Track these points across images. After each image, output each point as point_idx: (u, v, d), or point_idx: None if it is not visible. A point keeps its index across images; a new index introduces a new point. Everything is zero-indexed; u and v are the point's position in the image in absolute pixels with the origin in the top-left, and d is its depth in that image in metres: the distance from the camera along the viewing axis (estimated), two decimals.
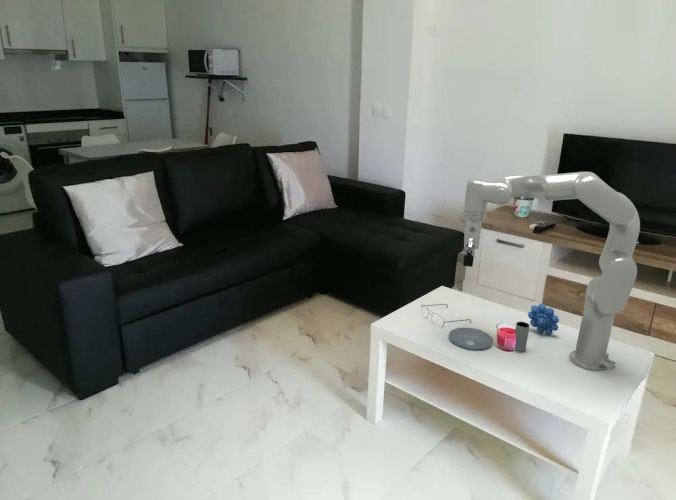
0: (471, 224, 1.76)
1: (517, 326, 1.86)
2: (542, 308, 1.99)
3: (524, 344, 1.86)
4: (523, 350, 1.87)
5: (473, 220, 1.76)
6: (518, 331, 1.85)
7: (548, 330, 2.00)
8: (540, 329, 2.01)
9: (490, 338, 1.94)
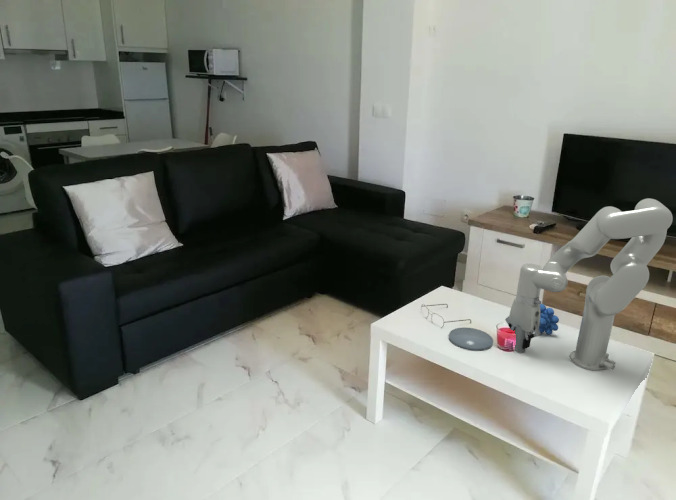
0: (536, 309, 1.80)
1: (517, 326, 1.86)
2: (542, 308, 1.99)
3: None
4: (523, 350, 1.87)
5: (535, 305, 1.80)
6: (518, 331, 1.85)
7: (548, 330, 2.00)
8: (540, 329, 2.01)
9: (490, 338, 1.94)
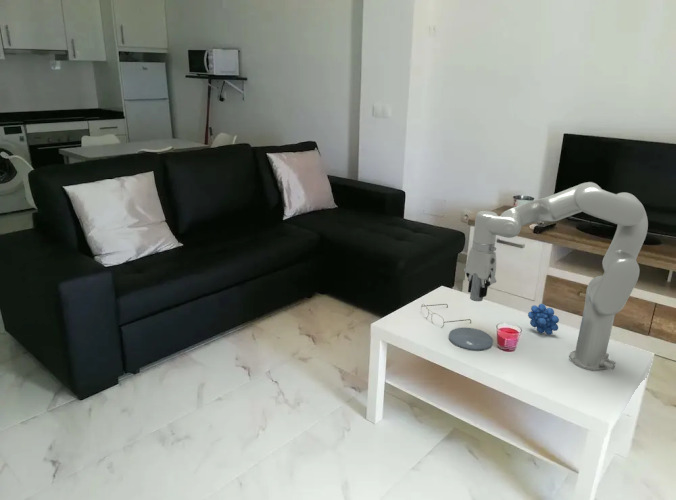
0: (491, 256, 1.80)
1: (474, 274, 1.86)
2: (542, 308, 1.99)
3: None
4: (480, 299, 1.88)
5: (491, 252, 1.81)
6: (475, 279, 1.86)
7: (548, 330, 2.00)
8: (540, 329, 2.01)
9: (490, 338, 1.94)
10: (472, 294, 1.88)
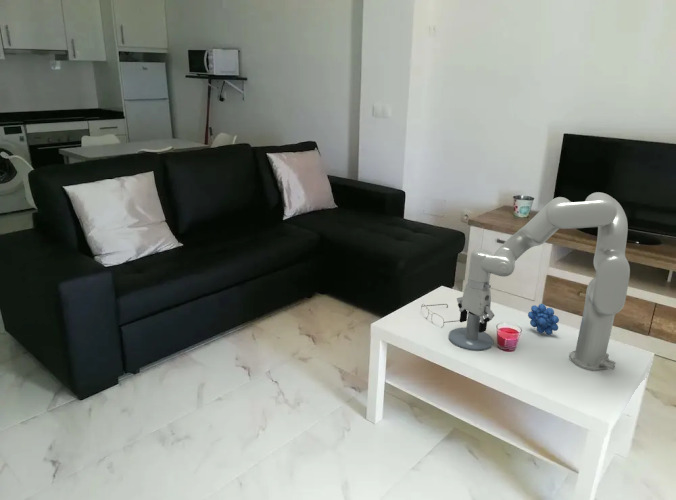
0: (486, 293, 1.85)
1: (469, 314, 1.91)
2: (542, 308, 1.99)
3: (476, 331, 1.92)
4: (475, 337, 1.92)
5: (485, 289, 1.85)
6: (470, 319, 1.91)
7: (548, 330, 2.00)
8: (540, 329, 2.01)
9: (490, 338, 1.94)
10: (467, 333, 1.93)
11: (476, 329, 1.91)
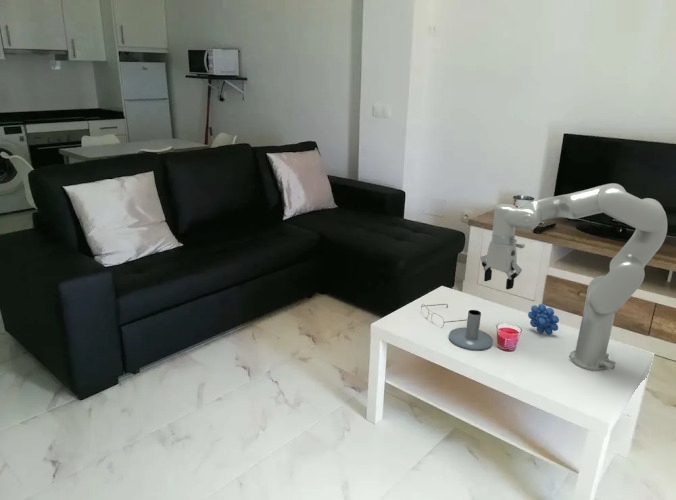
0: (512, 248, 1.81)
1: (469, 314, 1.91)
2: (542, 308, 1.99)
3: (476, 331, 1.92)
4: (475, 337, 1.92)
5: (511, 244, 1.81)
6: (470, 319, 1.91)
7: (548, 330, 2.00)
8: (540, 329, 2.01)
9: (490, 338, 1.94)
10: (467, 333, 1.93)
11: (476, 329, 1.91)
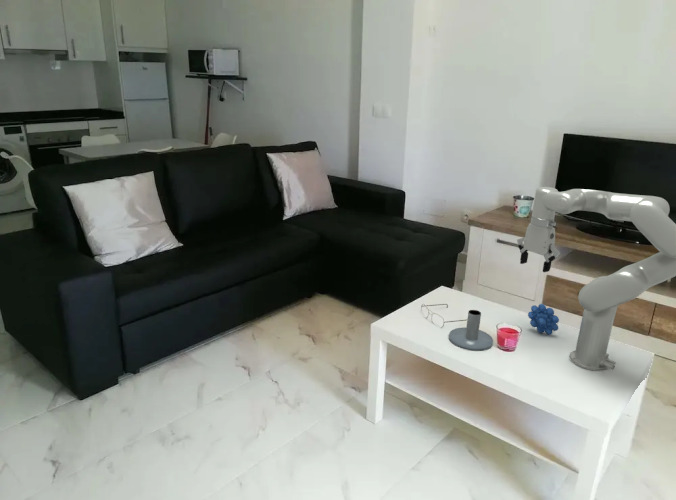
0: (551, 231, 1.82)
1: (469, 314, 1.91)
2: (542, 308, 1.99)
3: (476, 331, 1.92)
4: (475, 337, 1.92)
5: (550, 227, 1.82)
6: (470, 319, 1.91)
7: (548, 330, 2.00)
8: (540, 329, 2.01)
9: (490, 338, 1.94)
10: (467, 333, 1.93)
11: (476, 329, 1.91)
